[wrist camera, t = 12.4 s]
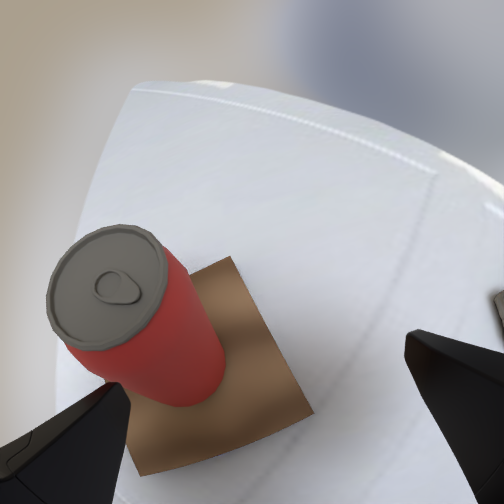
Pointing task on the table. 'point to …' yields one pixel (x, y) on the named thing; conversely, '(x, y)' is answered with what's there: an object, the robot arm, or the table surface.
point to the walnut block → (221, 387)
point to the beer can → (135, 317)
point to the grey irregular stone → (500, 305)
